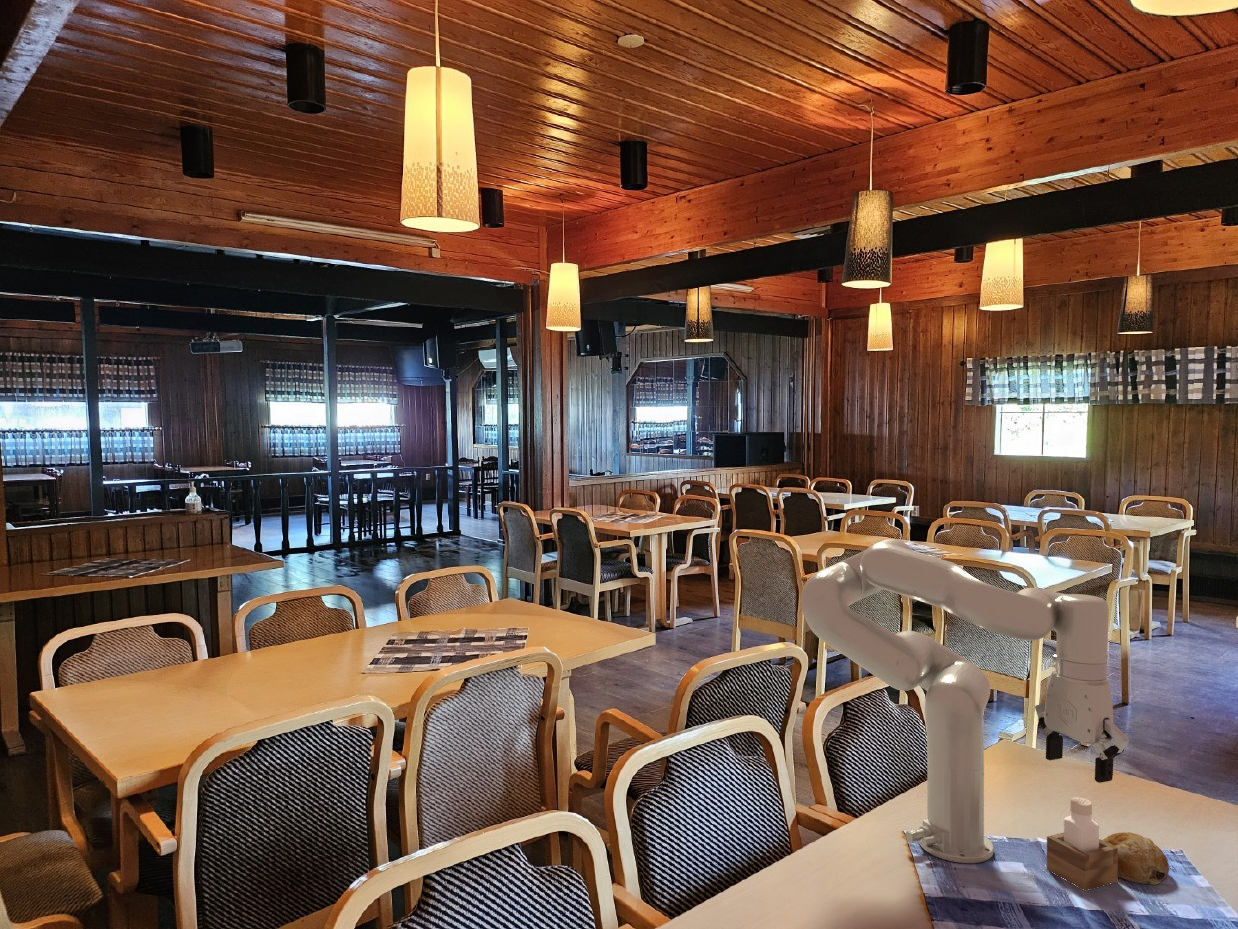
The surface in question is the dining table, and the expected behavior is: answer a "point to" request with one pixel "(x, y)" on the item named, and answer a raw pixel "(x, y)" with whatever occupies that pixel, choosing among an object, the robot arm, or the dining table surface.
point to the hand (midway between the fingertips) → (1078, 769)
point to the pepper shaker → (1081, 826)
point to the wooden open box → (1082, 863)
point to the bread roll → (1139, 858)
